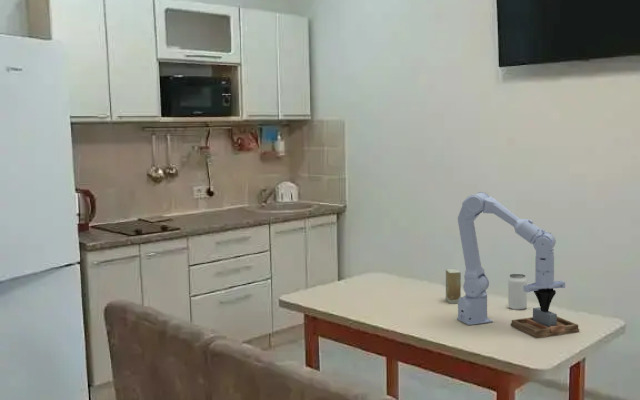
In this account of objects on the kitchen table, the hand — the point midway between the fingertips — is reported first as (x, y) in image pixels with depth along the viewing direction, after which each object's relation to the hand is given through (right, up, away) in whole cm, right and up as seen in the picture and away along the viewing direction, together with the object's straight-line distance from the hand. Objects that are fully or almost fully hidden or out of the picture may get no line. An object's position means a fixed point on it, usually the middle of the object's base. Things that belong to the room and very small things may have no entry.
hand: (544, 311), depth 214 cm
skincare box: (-22, -3, +37) cm, 44 cm away
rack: (0, -6, +1) cm, 6 cm away
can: (-1, -3, +26) cm, 27 cm away
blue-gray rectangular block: (0, -5, +1) cm, 5 cm away
